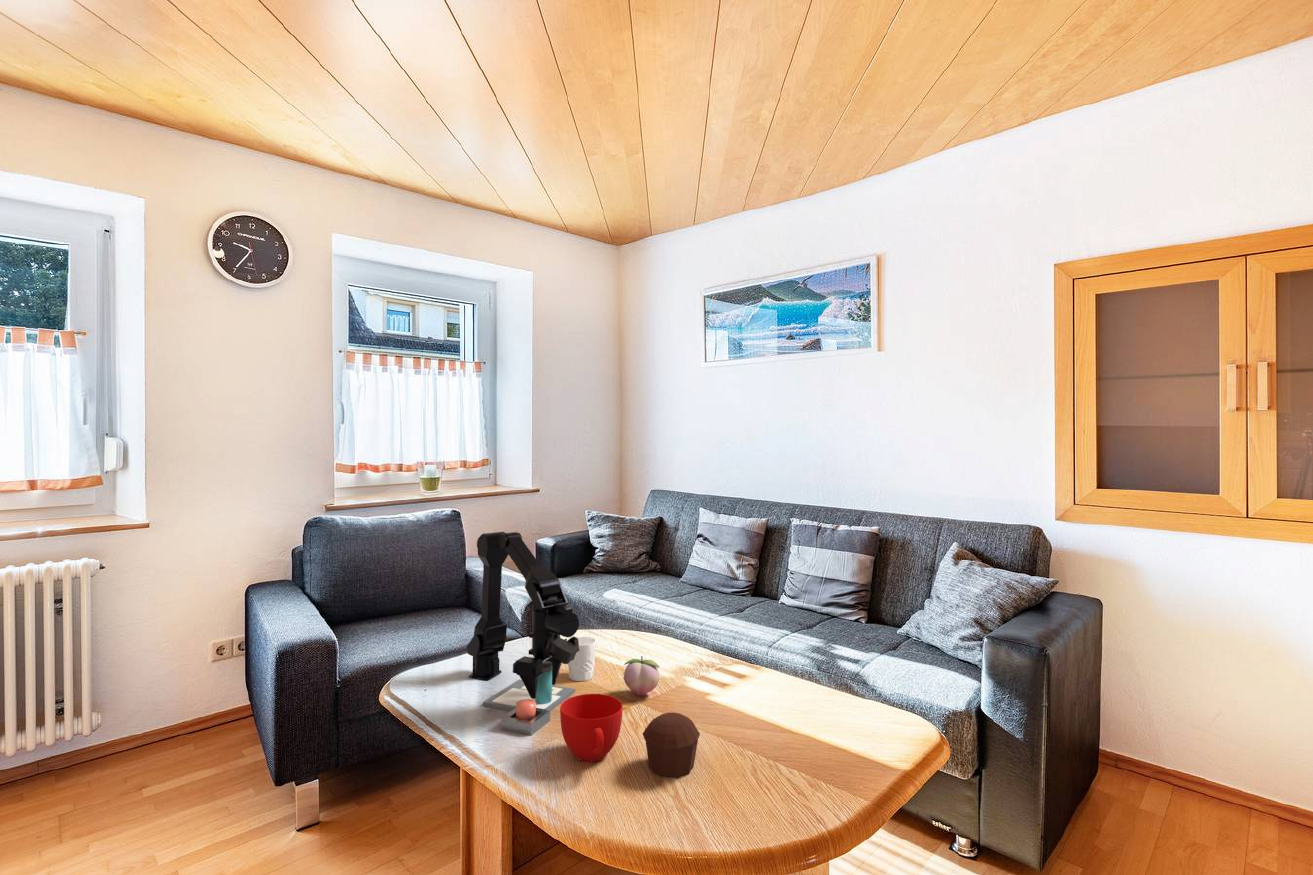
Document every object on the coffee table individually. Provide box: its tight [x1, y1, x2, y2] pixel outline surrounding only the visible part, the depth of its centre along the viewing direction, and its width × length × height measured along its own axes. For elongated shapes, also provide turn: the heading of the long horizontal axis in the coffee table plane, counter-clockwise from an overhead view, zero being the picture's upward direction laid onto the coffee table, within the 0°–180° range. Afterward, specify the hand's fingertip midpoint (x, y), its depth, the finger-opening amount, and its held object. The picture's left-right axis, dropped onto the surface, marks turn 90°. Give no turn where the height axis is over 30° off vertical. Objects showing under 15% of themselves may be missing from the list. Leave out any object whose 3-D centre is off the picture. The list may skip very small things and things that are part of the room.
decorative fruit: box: [623, 655, 660, 696], centre depth 163 cm, size 9×8×10 cm
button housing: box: [500, 708, 551, 736], centre depth 145 cm, size 8×8×2 cm
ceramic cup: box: [559, 693, 624, 763], centre depth 130 cm, size 13×17×10 cm
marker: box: [535, 661, 552, 704], centre depth 156 cm, size 4×4×9 cm
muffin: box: [642, 712, 701, 779], centre depth 127 cm, size 12×11×10 cm
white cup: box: [567, 635, 597, 682], centre depth 174 cm, size 8×8×10 cm
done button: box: [516, 699, 536, 721], centre depth 145 cm, size 4×4×4 cm
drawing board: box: [482, 679, 576, 712], centre depth 159 cm, size 17×16×1 cm
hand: (543, 691), depth 156 cm, fingers open, 9 cm apart
